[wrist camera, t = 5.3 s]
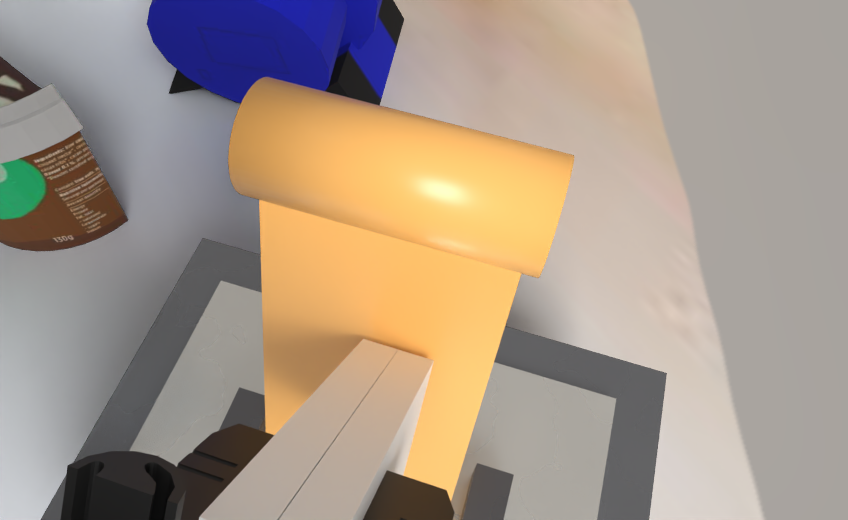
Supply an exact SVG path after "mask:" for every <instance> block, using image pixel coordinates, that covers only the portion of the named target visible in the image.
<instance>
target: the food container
mask: <svg viewBox="0 0 848 520" xmlns="http://www.w3.org/2000/svg"><path fill="white" fill-rule="evenodd" d="M81 129H83V127H82V125H81V124H80V122H79V121H78V119H77V118H76V116H75V115H74V113H73V112H72V110H71V109H70V107H69V106H68V104H67V103H66V101H65V100H64V99H63V98H61V97H60V95H59V93H58V92H57V90H56V89H55V87H54V85H53V84H52V83H51V84H50V85H48V86H46V87H44V88H40V87H38V86H37V85H36V84H34V83H33V82H31V81H30V80H29V79H28V78H26V77H25V76H24V75H23V74H21V73H20V72H19V71H18V70H16V69H15V68H14V67H13V66H11V65H10V64H9V63H8V62H7V61H5V60H4V59H3V58H2V57H0V242H1V243H3V244H5V245H7V246H10V247H14V248H18V249H22V250H30V251H55V250H61V249H68V248H72V247H75V246H79V245H83V244H86V243H88V242H91V241H93V240H96V239H98V238H101V237H102V236H104V235H106V234H108V233H110V232H112V231H114V230H115V229H117V228H118V227H119V226H121V225H122V224H124V223H125V222H127V221H128V219H127V217H126V215H125V213H124V211H123V210H122V208H121V206H120V204H119V202H118V200H117V199H116V197H115V195H114V193H113V191H112V190H111V188H110V186H109V184H108V182H107V180H106V179H105V177H104V175H103V173H102V171H101V170H100V168H99V166H98V164H97V162H96V160H95V159H94V157H93V155H92V153H91V151H90V150H89V148H88V146H87V144H86V142H85V140H84V139H83V137H82V135H81V133H80V130H81Z"/></svg>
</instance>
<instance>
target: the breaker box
mask: <svg viewBox="0 0 848 520" xmlns="http://www.w3.org/2000/svg"><path fill="white" fill-rule="evenodd" d="M666 375H667V373H664V372H661V371H658V370H654V369H651V368H647V367H644V366H640V365H637V364H633V363H630V362H627V361H623V360H620V359H616V358H613V357H609V356H606V355H603V354H599V353H596V352H592V351H589V350H585V349H582V348H579V347H575V346H572V345H568V344H565V343H561V342H558V341H555V340H551V339H548V338H544V337H541V336H537V335H534V334H531V333H527V332H524V331H520V330H517V329H513V328H510V327H507V326H505V328H504V331H503V334H502V338H501V341H500V344H499V347H498V351H497V354H496V357H495V360H494V364H493V367H492V370H491V373H490V377H489V380H488V383H487V386H486V390H485V393H484V396H483V399H482V402H481V406H480V409H479V412H478V415H477V419H476V422H475V425H474V428H473V432H472V435H471V438H470V441H469V445H468V448H467V451H466V454H465V458H464V461H463V464H462V467H461V471H460V474H459V477H458V480H457V483H456V487H455V490H454V493H453V496H452V500H451V504H452V507H453V509H454V512H455V513H454V517H453V520H649V515H650V507H651V499H652V490H653V482H654V474H655V466H656V457H657V449H658V441H659V433H660V424H661V416H662V408H663V399H664V391H665V383H666ZM236 424H242V425H245V426H248V427H251V428H254V429H258V430H261V431H264V432H266V426H265V390H264V354H263V319H262V283H261V255H259V254H256V253H253V252H249V251H246V250H242V249H239V248H235V247H232V246H229V245H225V244H222V243H218V242H215V241H211V240H208V239H205V238H203V239H202V241H201V242H200V244H199V246H198V248H197V249H196V251H195V253H194V255H193V256H192V258H191V260H190V261H189V263H188V265H187V267H186V268H185V270H184V272H183V274H182V275H181V277H180V279H179V281H178V282H177V284H176V286H175V287H174V289H173V291H172V293H171V294H170V296H169V298H168V300H167V301H166V303H165V305H164V307H163V308H162V310H161V312H160V313H159V315H158V317H157V319H156V320H155V322H154V324H153V326H152V327H151V329H150V331H149V333H148V334H147V336H146V338H145V339H144V341H143V343H142V345H141V346H140V348H139V350H138V352H137V353H136V355H135V357H134V359H133V360H132V362H131V364H130V366H129V367H128V369H127V371H126V372H125V374H124V376H123V378H122V379H121V381H120V383H119V385H118V386H117V388H116V390H115V392H114V393H113V395H112V397H111V398H110V400H109V402H108V404H107V405H106V407H105V409H104V411H103V412H102V414H101V416H100V418H99V419H98V421H97V423H96V424H95V426H94V428H93V430H92V431H91V433H90V435H89V437H88V438H87V440H86V442H85V444H84V445H83V447H82V449H81V450H80V452H79V454H78V456H77V457H76V459H75V461H74V462H76V461H78V460H80V459H83V458H85V457H87V456H90V455H95V454H100V453H105V452H109V451H137V452H142V453H146V454H151V455H156V456H159V457H161V458H163V459H164V460H166V461H168V462H170V463H172V464H174V465H175V466H176V467H177V465H178V463H179V462H180V461H181V460H182V459H183V458H184V457H186V456H187V455H188V454H189V453H192V452H193V450H194V449H195V448H196V447H197V446H198V445H199V444H200V443H201V442H203V441H204V440H205V439H206V438H207V437H208V436H209V435H211V434H212V433H214V432H217V431H220V430H222V429H225V428H228V427H231V426H233V425H236ZM65 483H66V477H65V478H64V480H63V482H62V483H61V485H60V487H59V489H58V490H57V492H56V494H55V496H54V497H53V499H52V501H51V503H50V504H49V506H48V508H47V509H46V511H45V513H44V515H43V516H42V518H41V520H61V512H62V505H63V497H64V490H65Z"/></svg>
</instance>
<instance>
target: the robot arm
mask: <svg viewBox="0 0 848 520" xmlns="http://www.w3.org/2000/svg"><path fill="white" fill-rule="evenodd" d="M433 362H434V360H431V359H428V358H424V357H421V356H418V355H415V354H411V353H408V352H405V351H402V350H398V349H395V348H392V347H389V346H385V345H382V344H379V343H376V342H372V341H369V340H366V339H363V340H362V341H361V342H360V343H359V344H358V345H357V346H356V347H355V348H354V349H353V351H352V352H351V353H350V354H349V355H348V356H347V357H346V358H345V359H344V360H343V361H342V362H341V364H340V365H339V366H338V367H337V368H336V369H335V370H334V371H333V372H332V373H331V374H330V375H329V377H328V378H327V379H326V380H325V381H324V382H323V383H322V384H321V385H320V386H319V387H318V389H317V390H316V391H315V392H314V393H313V394H312V395H311V396H310V397H309V398H308V399H307V400H306V402H305V403H304V404H303V405H302V406H301V407H300V408H299V409H298V410H297V411H296V412H295V414H294V415H293V416H292V417H291V418H290V419H289V420H288V421H287V422H286V423H285V424H284V425H283V427H282V428H281V429H280V430H279V431H278V432H277V433H276V434H275V435H273V434H270V433H267V432H264V431H261V430H258V429H254V428H251V427H248V426H245V425H242V424H236V425H233V426H231V427H228V428H225V429H222V430H220V431H217V432H214V433H212V434H211V435H209V436H208V437H207V438H206V439H205V440H204V441H203V442H201V443H200V444H199V445H198V446H197V447H196V448H195V449H194V450H193V452H192V453H189V454H188V455H187V456H186V457H184V458H183V459H182V460H181V461H180V462H179V463H178V465H177V467H176V466H175V465H174V464H172V463H170V462H168V461H166V460H164V459H163V458H161V457H159V456H156V455H151V454H146V453H142V452H137V451H109V452H105V453H100V454H95V455H90V456H87V457H85V458H83V459H80V460H78V461H76V462H74V463H72V464H70V465H68V468H67V475H66V483H65V490H64V497H63V505H62V512H61V520H453V517H454V513H455V512H454V509H453V507H452V504H451V501H450V498H449V495H448V493H447V490H445V489H442V488H439V487H436V486H433V485H430V484H427V483H424V482H421V481H418V480H415V479H412V478H409V477H406V476H403V475H404V471H405V467H406V463H407V460H408V456H409V452H410V448H411V445H412V441H413V437H414V433H415V430H416V426H417V422H418V418H419V415H420V411H421V407H422V403H423V400H424V396H425V392H426V388H427V385H428V381H429V377H430V373H431V370H432V366H433Z"/></svg>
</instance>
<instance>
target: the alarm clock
mask: <svg viewBox="0 0 848 520" xmlns="http://www.w3.org/2000/svg"><path fill="white" fill-rule="evenodd" d="M403 21H404V18H403V16H402V15H401V13H400V11H399V9H398V8H397V6H396V4H395V3H394V1H393V0H153V1H152V3H151V5H150V9H149V15H148V21H147V25H148V28H149V31H150V34H151V37H152V40H153V43H154V44H155V45H156V46H157V48H158V49H159V50H160V52H161V53H162V54H163V56H164V57H165V58H166V60H167V61H168V62H169V63H171V64H172V65H173V66H174V67H175V68H177V71H176V74H175V77H174V80H173V82H172V85H171V88H170V91H169V94H172V93H177V92H183V91H188V90H193V89H199V88H206V89H207V90H209V91H211V92H213V93H215V94H218V95H220V96H223V97H225V98H228V99H230V100H233V101H235V102H239V103H241V102H242V100H243V98H244V97H245V95H246V93H247V92H248V90H249V89H250V88H251V86H252V85H253V84H254V83H255V82H256V81H258V80H259V79H261V78H263V77H270V78H274V79H278V80H282V81H286V82H290V83H294V84H298V85H302V86H306V87H309V88H313V89H317V90H321V91H325V92H329V93H333V94H337V95H341V96H345V97H348V98H352V99H356V100H360V101H364V102H368V103H372V104H376V105H380V102H381V98H382V95H383V91H384V88H385V84H386V81H387V77H388V74H389V70H390V67H391V63H392V60H393V56H394V53H395V49H396V46H397V42H398V39H399V35H400V32H401V28H402V25H403Z"/></svg>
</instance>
